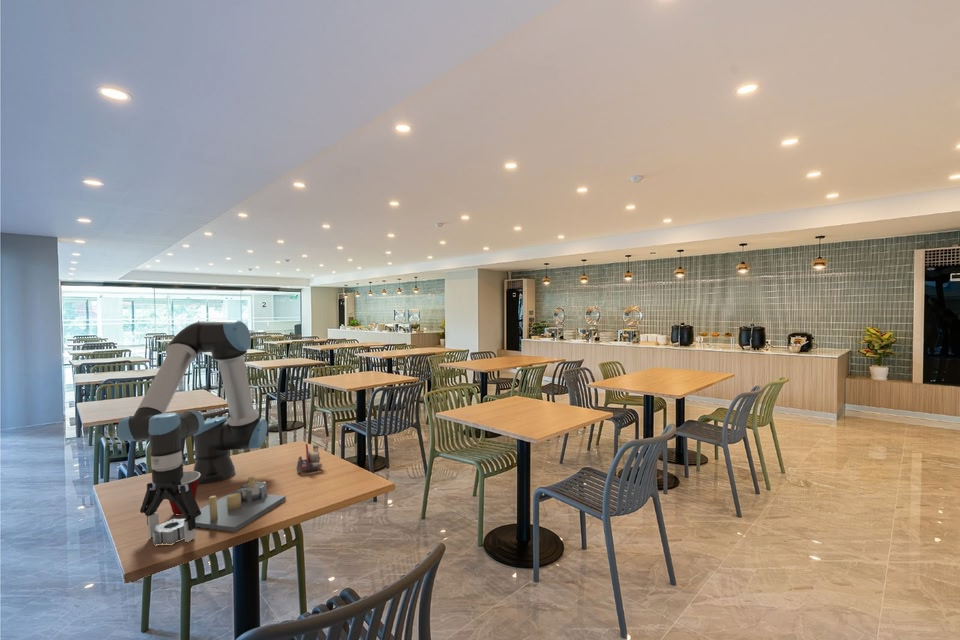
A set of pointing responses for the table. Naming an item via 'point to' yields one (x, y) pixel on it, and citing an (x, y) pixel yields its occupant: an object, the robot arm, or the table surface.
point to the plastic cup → (187, 477)
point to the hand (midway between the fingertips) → (172, 538)
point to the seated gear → (252, 492)
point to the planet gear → (169, 532)
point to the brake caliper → (309, 461)
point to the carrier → (235, 510)
